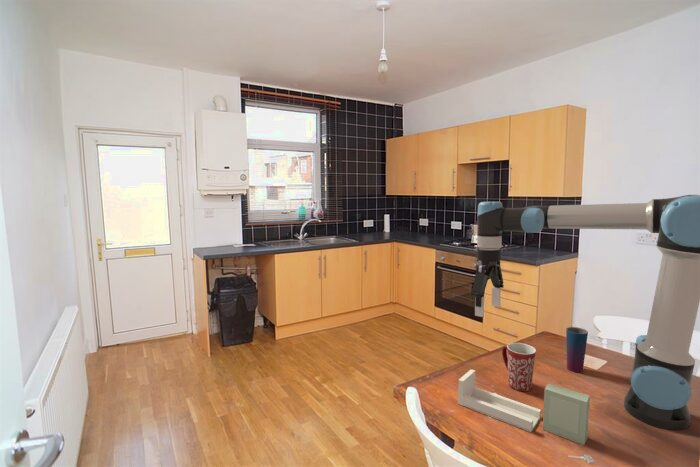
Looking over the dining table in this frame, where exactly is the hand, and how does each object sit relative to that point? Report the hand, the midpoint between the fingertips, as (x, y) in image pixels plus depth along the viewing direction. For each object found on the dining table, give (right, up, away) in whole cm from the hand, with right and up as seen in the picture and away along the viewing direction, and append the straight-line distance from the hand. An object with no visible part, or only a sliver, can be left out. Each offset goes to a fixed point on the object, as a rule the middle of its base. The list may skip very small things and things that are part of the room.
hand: (487, 310), depth 126 cm
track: (-1, -28, -13) cm, 31 cm away
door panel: (+12, -29, -23) cm, 39 cm away
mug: (+11, -26, +3) cm, 28 cm away
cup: (+37, -24, +12) cm, 46 cm away
